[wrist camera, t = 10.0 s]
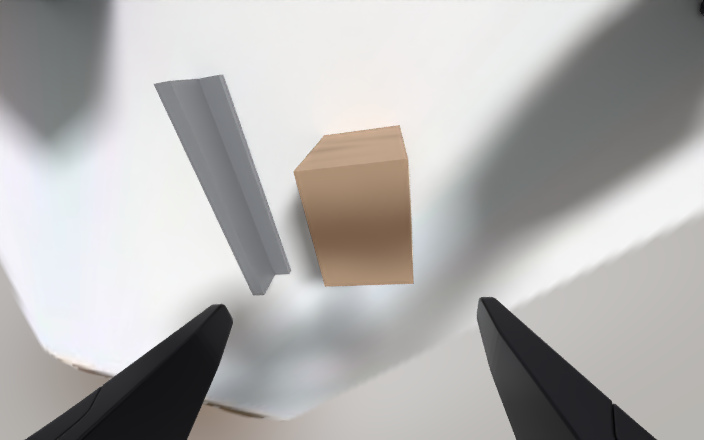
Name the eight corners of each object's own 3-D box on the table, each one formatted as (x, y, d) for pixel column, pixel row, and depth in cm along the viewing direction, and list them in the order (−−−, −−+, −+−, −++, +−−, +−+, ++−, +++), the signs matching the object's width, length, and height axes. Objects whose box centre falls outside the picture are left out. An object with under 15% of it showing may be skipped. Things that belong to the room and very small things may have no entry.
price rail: (186, 81, 17) (150, 84, 14) (223, 74, 16) (192, 76, 14) (264, 271, 24) (250, 295, 22) (290, 270, 24) (279, 294, 21)
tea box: (405, 218, 20) (415, 283, 14) (340, 223, 21) (323, 286, 15) (400, 124, 17) (410, 158, 11) (323, 135, 18) (291, 171, 12)
